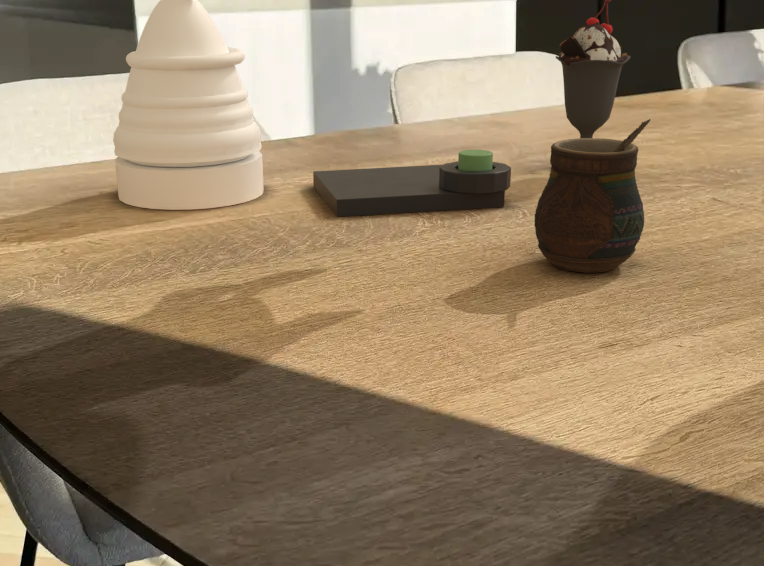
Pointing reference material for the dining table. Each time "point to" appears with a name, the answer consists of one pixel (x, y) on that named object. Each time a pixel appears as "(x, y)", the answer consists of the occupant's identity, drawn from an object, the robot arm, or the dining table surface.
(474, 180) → the black green button base
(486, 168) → the button
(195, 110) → the honey pot
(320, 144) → the dining table surface
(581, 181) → the mate gourd
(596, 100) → the sundae
